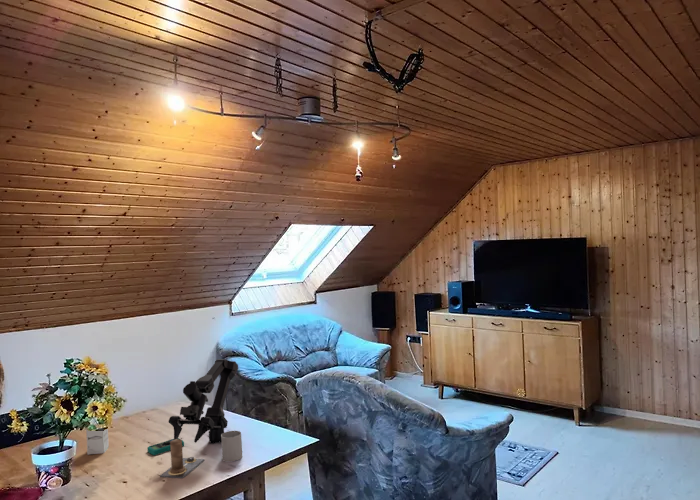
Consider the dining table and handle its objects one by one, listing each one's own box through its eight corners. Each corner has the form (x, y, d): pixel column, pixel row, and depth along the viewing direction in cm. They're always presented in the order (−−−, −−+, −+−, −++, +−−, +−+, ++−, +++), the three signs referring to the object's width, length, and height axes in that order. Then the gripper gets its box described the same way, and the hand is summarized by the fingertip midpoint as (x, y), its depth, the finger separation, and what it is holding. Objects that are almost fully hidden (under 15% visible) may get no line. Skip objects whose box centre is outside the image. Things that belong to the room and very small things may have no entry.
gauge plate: (183, 459, 226) (182, 455, 226) (204, 460, 224) (204, 456, 224) (160, 476, 209) (159, 472, 209) (182, 478, 207) (182, 474, 207)
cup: (224, 463, 220) (223, 439, 219) (220, 456, 227) (218, 433, 227) (244, 458, 223) (243, 434, 223) (239, 452, 231) (238, 429, 231)
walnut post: (182, 466, 217) (180, 437, 216) (186, 471, 212) (185, 441, 212) (168, 470, 213) (166, 440, 213) (172, 475, 209) (171, 444, 209)
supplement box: (86, 455, 236) (85, 427, 236) (92, 449, 243) (90, 421, 243) (104, 453, 237) (102, 425, 237) (109, 447, 244) (107, 420, 244)
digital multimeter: (185, 446, 242) (185, 440, 242) (153, 456, 231) (153, 450, 231) (178, 442, 247) (177, 436, 247) (146, 452, 237) (146, 446, 237)
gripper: (169, 397, 226) (155, 432, 215) (209, 398, 221) (197, 434, 211) (180, 409, 234) (167, 444, 223) (219, 410, 229) (208, 445, 219)
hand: (184, 441), depth 219 cm, fingers open, 9 cm apart
